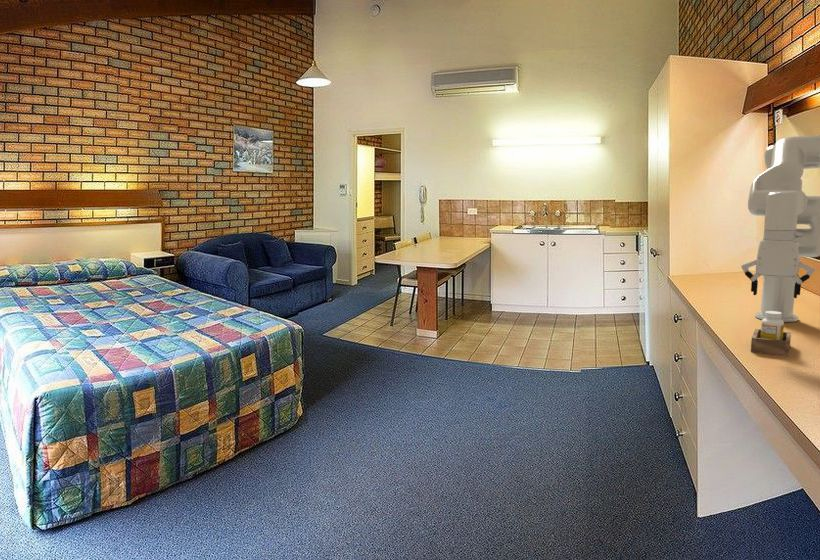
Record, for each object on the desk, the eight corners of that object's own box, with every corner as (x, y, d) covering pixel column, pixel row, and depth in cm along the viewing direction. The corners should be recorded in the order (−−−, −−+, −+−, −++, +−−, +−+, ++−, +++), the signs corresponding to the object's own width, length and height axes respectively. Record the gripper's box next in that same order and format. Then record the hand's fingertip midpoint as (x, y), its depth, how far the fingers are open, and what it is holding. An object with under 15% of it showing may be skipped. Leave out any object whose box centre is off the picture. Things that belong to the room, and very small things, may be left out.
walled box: (754, 341, 168) (755, 328, 168) (790, 345, 163) (791, 332, 162) (750, 351, 159) (751, 337, 158) (788, 356, 153) (789, 342, 153)
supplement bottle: (773, 342, 163) (776, 309, 162) (786, 347, 158) (789, 314, 157) (755, 342, 163) (758, 310, 162) (768, 348, 158) (770, 314, 156)
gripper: (817, 235, 154) (812, 295, 157) (744, 233, 164) (741, 290, 167) (817, 238, 148) (812, 301, 151) (742, 236, 158) (738, 295, 161)
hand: (774, 295), depth 159 cm, fingers open, 9 cm apart
